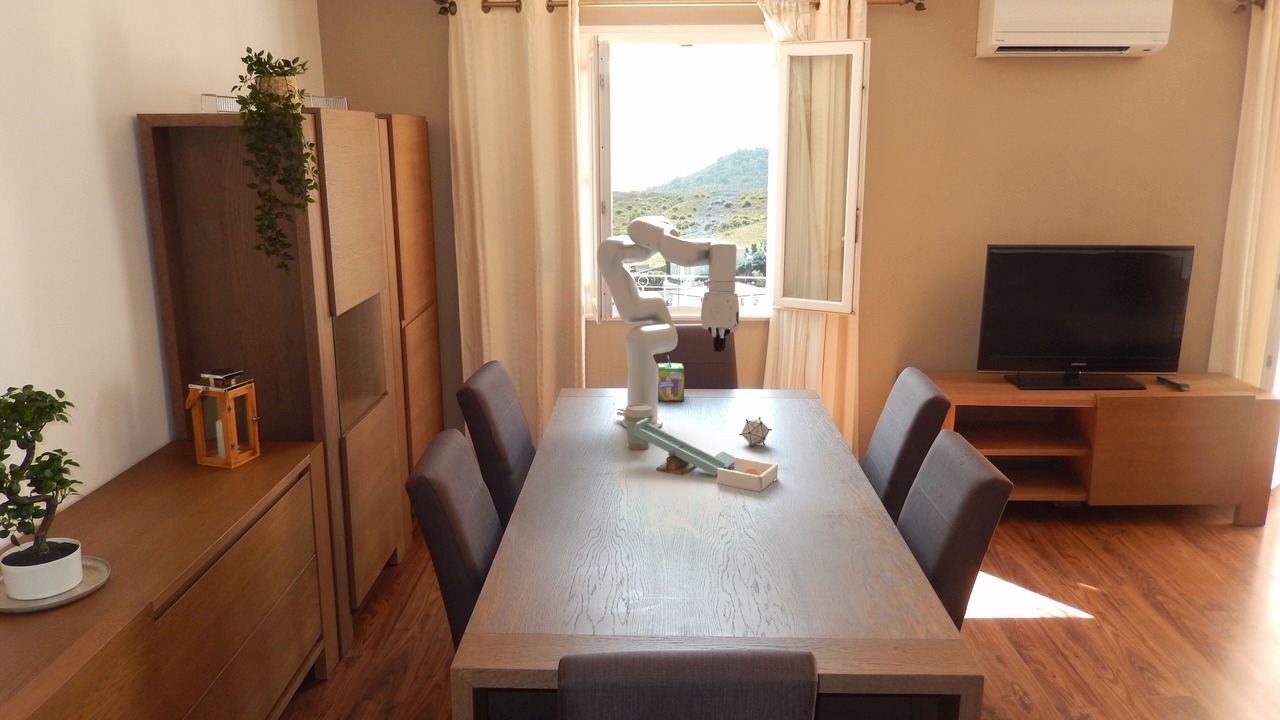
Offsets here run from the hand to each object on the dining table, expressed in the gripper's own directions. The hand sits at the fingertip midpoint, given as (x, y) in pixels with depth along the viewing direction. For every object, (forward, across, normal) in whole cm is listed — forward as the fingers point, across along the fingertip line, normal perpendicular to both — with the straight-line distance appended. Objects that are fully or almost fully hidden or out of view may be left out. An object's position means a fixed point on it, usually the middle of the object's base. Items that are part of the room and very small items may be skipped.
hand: (719, 350), depth 267 cm
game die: (+29, +8, +10) cm, 32 cm away
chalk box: (+29, -38, +44) cm, 65 cm away
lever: (+25, -2, -17) cm, 30 cm away
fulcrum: (+29, -2, -20) cm, 35 cm away
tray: (+29, +18, -20) cm, 40 cm away
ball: (+27, +20, -20) cm, 39 cm away
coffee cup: (+29, -20, -10) cm, 37 cm away
